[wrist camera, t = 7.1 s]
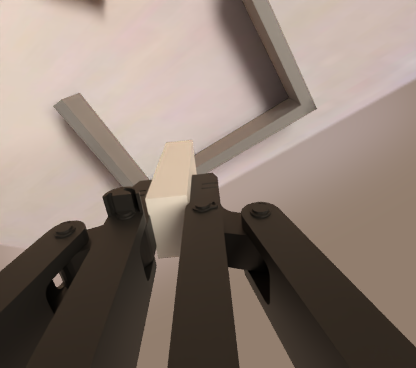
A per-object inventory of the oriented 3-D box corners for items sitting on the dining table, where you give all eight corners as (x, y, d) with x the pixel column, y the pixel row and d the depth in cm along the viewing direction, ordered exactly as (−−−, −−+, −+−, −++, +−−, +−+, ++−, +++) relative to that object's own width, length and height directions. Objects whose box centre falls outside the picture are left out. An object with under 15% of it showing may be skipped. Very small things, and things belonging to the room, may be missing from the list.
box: (71, 98, 32) (53, 106, 28) (242, -29, 27) (249, -42, 23) (149, 192, 38) (142, 210, 34) (302, 101, 33) (316, 108, 29)
